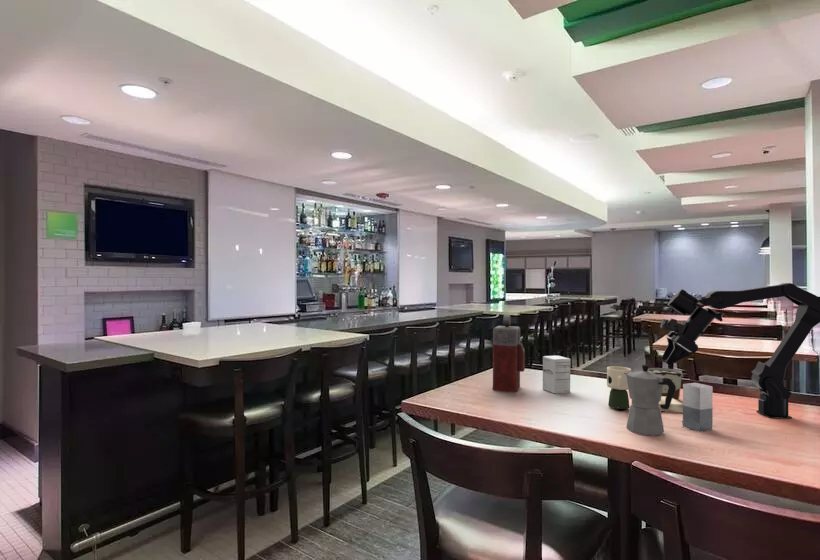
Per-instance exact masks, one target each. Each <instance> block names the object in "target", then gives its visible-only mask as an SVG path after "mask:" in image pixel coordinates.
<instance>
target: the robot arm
mask: <svg viewBox="0 0 820 560" xmlns="http://www.w3.org/2000/svg"><path fill="white" fill-rule="evenodd" d="M781 297H783V298H786V299H787V300H789V301H790V302H791V303H793V304H794V305H796V306H797V308H796V311H795V313H796V314H795V320H794V321H793V323H792V325H791V326H790V327H789V329H788V331H786V334H785V335H784V337H783V338H782V340H781V341H780V343H779V344H778V346H777V347H776V349H775V351H774V352H773V354H772V355H771V357H770V358H769V359H768V360H767V361H765V362H761V361H758V362H757V364H756V365H755V368H754V369H753V370H751V371H750V372H751V373H752V375H751V381H752V383H753V384H754V385H755V386H756V387H757V388H758V390H759V392H760V393H759V398H758V403H757V404H758V406H757V408H758V410H756V412H755V413H757V414H760V415H762V416H765V417H767V418H771V419H793V417H792V416H791V415H789V399H790V397H791V395H792V392H791V391H790V390H789V389H787V387H786V386H784V385H783V383H784V380H785V377H786V370H787V368H788V366H789V364H790V362H791V361H792V360H793V358H794V357H795V355H796V354H797V352H798V350H799V349H800V348H801V346H802V344H803V343H804V341H805V340H806V338H807V337H808V336H809V334H810V332H811V331H812V329H813V328H814V327H815V326H817V325H818V324H820V296H817V295H816V294H814V293H811V292H810V291H808V290H805V289H804V288H801V287H799V286H797V285H796V284H794V283H791V282H788V283H787V282H785V283H784V282H783V283H780V284H776V285H775V284H774V285H767V286H760V287H755V288H748V289H742V290H712V291H709V292H707V294H706V295H704V296H700V297H694V296H693V295H691V294H690V293H688V292H687V291H686V290H685V289H683V288H681V289H680V290H679V291H678V292H677V293H676V294H675V295H673V296H672V297H671V298H670V300H669V301H668V303H667V306H668V307H670V309H672V310H675V311H676V312H677V313H679V314H681V316H685V315H686V314H687V315H690V316H689V317H688V318H687V320H683V321H682V322H678V321H677V319H675V318H670V319H665V318H662V320H661V322H660V326H659V328H660V329H662V330H668V331H669V332H668V333H667V334H666V341H667V346H666V348H665V349H664V352H663V354H662V356H661V360H663V361H665V360H666V361H665V363H666V364H667V365H672V364H675V362H677V361H680V360H683V359H685V358H686V357H689V356H691V355H693V354H694V355H695V353H697V351H699V346H698V344H697V343H696V341H697V340H698V338H700V336H703V335H705V330H706V329H707V328H708V326H710V325H711V323H712V322H713V321H714V320H716V321H718V322H723V316H722V312H721V311H720V312H716V311H714V310H712V309H716V310H724V309H727V308H730V307H733V306H736V305H739V304H742V303H747V302H754V301H761V300H762V301H763V300H768V299H775V298H781ZM700 305H701V306H700ZM702 306H707V307H706V308H703V307H702ZM710 308H711V309H710Z"/></svg>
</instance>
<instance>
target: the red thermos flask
mask: <svg viewBox="0 0 820 560" xmlns="http://www.w3.org/2000/svg"><path fill="white" fill-rule="evenodd" d="M511 318H512V317H511V315H510V314H503V319H502V324H503V325H497V326H496V327H494V328H493V329H492V391H498V392H499V391H500V392H509V393H510V392H511V393H517V392H519V389H520V388H521V372H522V373H523V372H524V371H525V368H526V367H525V365H526V363H525V361H526V359H525V357H526V351H525V347H524V344H523V342H521V327H520V326H517V325H516V326H515V325H514V326H513V325H511V321H512V320H511Z"/></svg>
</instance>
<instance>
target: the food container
mask: <svg viewBox="0 0 820 560" xmlns="http://www.w3.org/2000/svg"><path fill="white" fill-rule="evenodd" d="M648 372H651V373H654V374H657V375H660V376H663V377H665V378H669V379H671V380H672V381H673V383H674V384H675V386H676V390H675V392H674V395H673V399H675V400H677V401H680V396H681V395H680V394H681V386H682V378H684V377H685V376H684V373H683V371H682V370H679V369H674V368H665V367H664V368H662V367H648ZM668 389H669V387H668V385H663V390H662V396H667V392H668Z"/></svg>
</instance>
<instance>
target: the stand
mask: <svg viewBox="0 0 820 560" xmlns="http://www.w3.org/2000/svg"><path fill="white" fill-rule="evenodd" d="M666 397H667V396H661V401H660V402H659V408H660V411H665V412H664V413H683V402H681V401H680V400H675V399H673V398H672V401H671V404H670V407H669V409H662V408H661V407H660V405H665V399H666Z"/></svg>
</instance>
